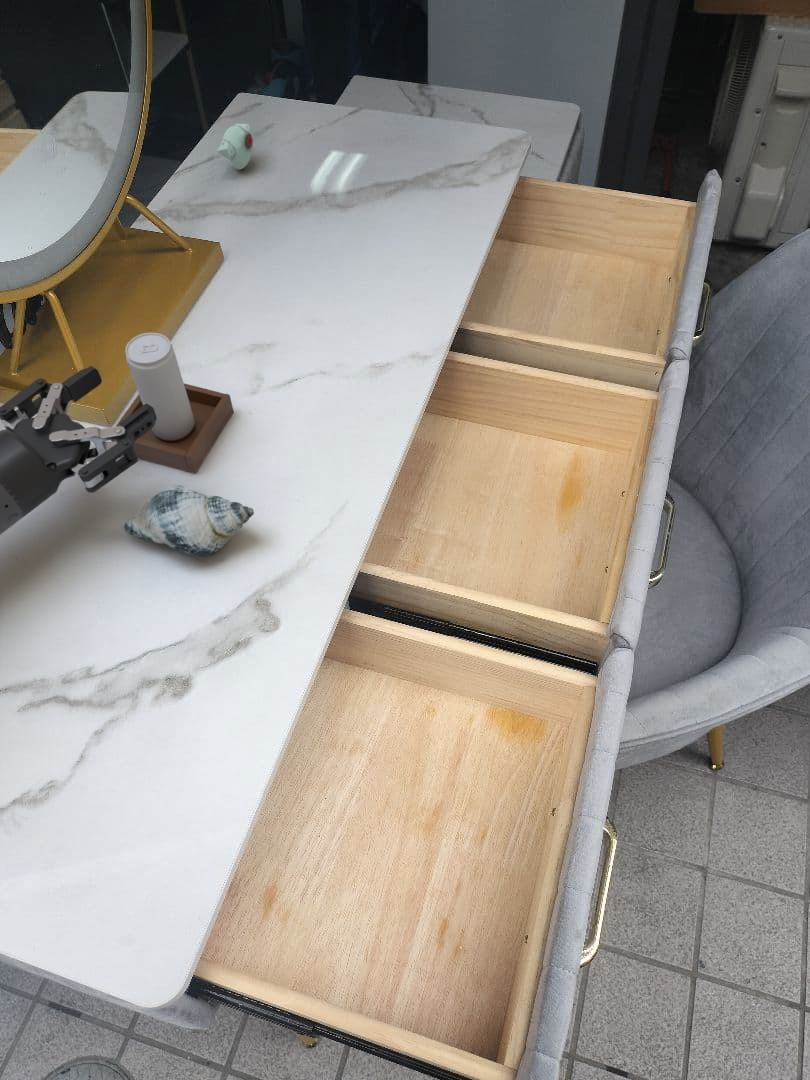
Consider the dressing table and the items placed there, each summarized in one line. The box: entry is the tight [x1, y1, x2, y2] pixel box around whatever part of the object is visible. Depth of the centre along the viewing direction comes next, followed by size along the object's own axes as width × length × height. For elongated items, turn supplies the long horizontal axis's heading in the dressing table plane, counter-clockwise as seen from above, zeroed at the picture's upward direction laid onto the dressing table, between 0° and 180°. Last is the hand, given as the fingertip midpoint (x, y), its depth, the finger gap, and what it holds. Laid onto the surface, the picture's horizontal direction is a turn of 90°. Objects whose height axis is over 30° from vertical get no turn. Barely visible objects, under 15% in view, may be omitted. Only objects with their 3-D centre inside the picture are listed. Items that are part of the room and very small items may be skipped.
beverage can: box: [124, 332, 195, 441], centre depth 88 cm, size 5×5×12 cm
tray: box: [110, 382, 234, 474], centre depth 92 cm, size 10×10×3 cm
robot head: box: [216, 122, 254, 171], centre depth 121 cm, size 8×4×7 cm, turn 159°
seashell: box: [123, 484, 255, 557], centre depth 83 cm, size 6×8×12 cm
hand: (124, 391), depth 84 cm, fingers open, 8 cm apart
